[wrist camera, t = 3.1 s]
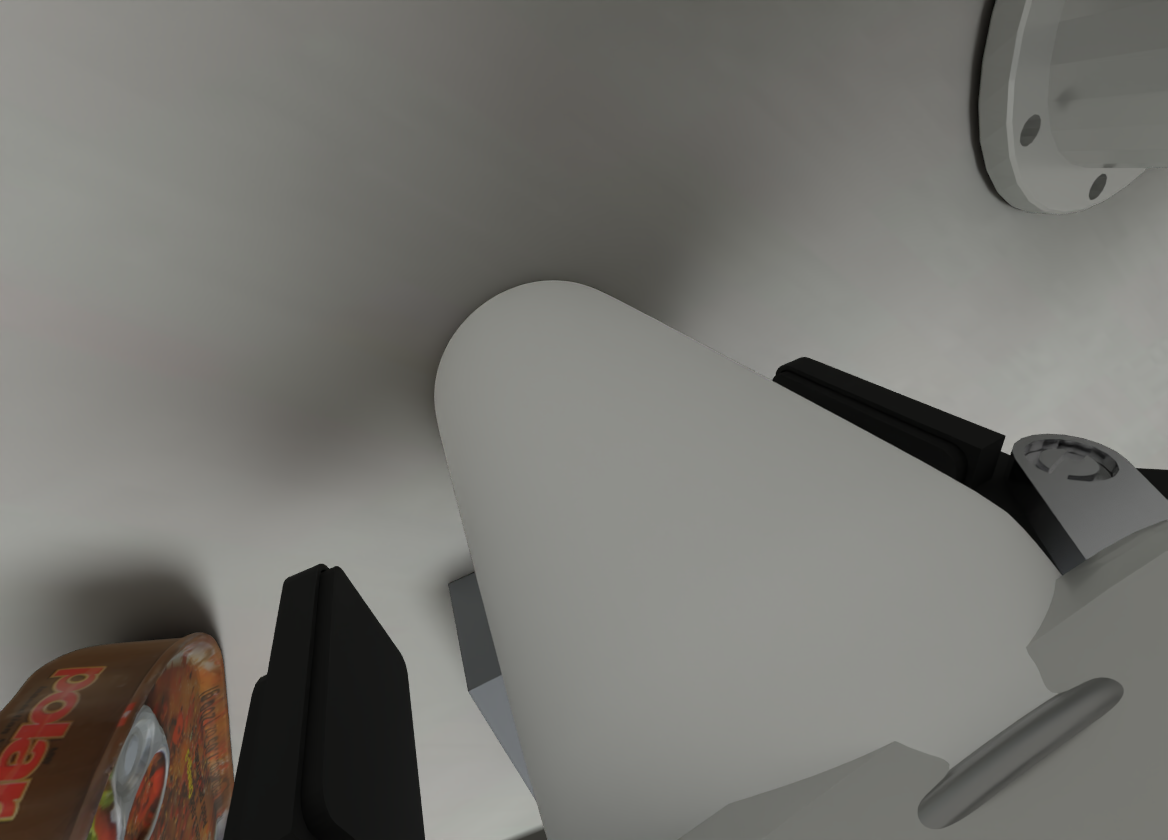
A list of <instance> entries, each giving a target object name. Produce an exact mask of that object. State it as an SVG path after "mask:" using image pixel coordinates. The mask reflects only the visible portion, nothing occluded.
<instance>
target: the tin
mask: <svg viewBox="0 0 1168 840" xmlns="http://www.w3.org/2000/svg"><path fill="white" fill-rule="evenodd" d="M233 787H234V777H233V764H232V754H231V744H230V732H229V717H228V706H227V696H226V683H225V672H224V664H223V658H222V654H221V650H220V648H219V646H218V644H217V642H216V641H215V639H214V638H213V637H212V636H211V635H209V634H205V633H202V632H200V633H193V634H189V635H187V636H185V637H183V638H173V639H161V640H149V641H136V642H124V643H114V644H105V645H97V646H92V647H87V648H83V649H79V650H76V651H73V652H70V653H68V654H65V655H62V656H60V657H58V658H57V659H55V660H53V661H51V662H49V663H47V664H45V665H44V666H42V667H41V668H40V669H38V670H37V671H36V672H34V673H33V674H32V675H31V676H30V677H29V678H28V679H27V681H26V682H25V683H24V684H23V686H22V687H21V688H20V690H19V691H18V692H17V694H16V695H15V696H14V697H13V698H12V700H11V701H10V702H9V703H8V704H7V705H6V706H5V708H4V709H3V710H2V711H1V712H0V840H223V837H224V832H225V827H226V822H227V817H228V812H229V807H230V802H231V797H232V792H233Z"/></svg>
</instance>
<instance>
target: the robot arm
mask: <svg viewBox="0 0 1168 840" xmlns="http://www.w3.org/2000/svg"><path fill="white" fill-rule="evenodd" d="M978 112H979V134H980V144H981V148H982V153H983V157H984V162H985V166H986V170H987V172H988V174H989V176H990V178H991V180H992V182H993V184H994V186H995V188H996V190H997V192H998V193H999V194H1000V195H1001V196H1002V197H1003V198H1004V199H1005V200H1006V201H1007V202H1008V203H1009V204H1010V205H1011V206H1013V207H1016V208H1018V209H1021V210H1023V211H1026V212H1030V213H1046V214H1058V215H1063V214H1069V213H1075V212H1081V211H1083V210H1086V209H1088V208H1090V207H1092V206H1095V205H1097V204H1099V203H1101V202H1103V201H1105V200H1107V199H1108V198H1110V197H1111V196H1113V195H1114V194H1116V193H1117V192H1119V191H1120V190H1121V189H1123V188H1124V187H1126V186H1127V185H1129V184H1130V183H1131V182H1132V181H1134V180H1135V179H1136V178H1137V177H1138V176H1139V175H1140V174H1141V173H1143V172H1144V171H1145V170H1146V169H1147V168H1168V0H996V1H995V4H994V8H993V11H992V15H991V20H990V25H989V30H988V35H987V40H986V45H985V50H984V55H983V60H982V68H981V79H980V90H979V102H978ZM773 382H775V383H777V384H779V385H781V386H783V387H785V388H787V389H788V390H790V391H792V392H794V393H796V394H798V395H800V396H802V397H803V398H805V399H807V400H809V401H811V402H813V403H815V404H817V405H818V406H820V407H822V408H824V409H826V410H828V411H830V412H832V413H833V414H835V415H837V416H839V417H841V418H843V419H845V420H847V421H848V422H850V423H852V424H854V425H856V426H858V427H860V428H861V429H863V430H865V431H867V432H869V433H871V434H873V435H874V436H876V437H878V438H880V439H882V440H884V441H885V442H887V443H889V444H891V445H893V446H895V447H897V448H898V449H900V450H902V451H904V452H906V453H908V454H909V455H911V456H913V457H915V458H917V459H919V460H921V461H922V462H924V463H926V464H928V465H930V466H931V467H933V468H935V469H937V470H938V471H940V472H942V473H944V474H946V475H947V476H949V477H951V478H953V479H954V480H956V481H958V482H960V483H961V484H963V485H965V486H967V487H968V488H970V489H972V490H974V491H975V492H977V493H979V494H980V495H982V496H983V497H985V498H986V499H988V500H989V501H991V502H992V503H994V504H995V505H997V506H998V507H1000V508H1001V509H1003V510H1004V511H1006V512H1007V513H1008V514H1009V515H1010V516H1011V517H1012V518H1013V519H1014V520H1015V521H1016V522H1017V523H1018V524H1019V525H1020V526H1021V527H1022V528H1023V529H1024V530H1025V531H1026V532H1027V533H1028V534H1029V536H1030V537H1031V538H1032V539H1033V540H1034V541H1035V542H1036V544H1037V545H1038V546H1039V547H1040V548H1041V550H1042V551H1043V552H1044V553H1045V555H1046V556H1047V557H1048V558H1049V560H1050V561H1051V562H1052V563H1053V564H1054V566H1055V567H1056V568H1057V570H1058V571H1059V572H1060V573H1061V575H1062V576H1061V577H1059V578H1058V579H1056V583H1055V590H1054V595H1053V598H1052V601H1051V604H1050V606H1049V609H1048V611H1047V614H1046V616H1045V618H1044V620H1043V622H1042V624H1041V626H1040V627H1039V629H1038V631H1037V632H1036V634H1035V636H1034V637H1033V638H1032V640H1031V641H1030V643H1029V644H1028V645H1027V647H1026V649H1027V652H1028V654H1029V656H1030V657H1031V658H1032V660H1033V661H1034V663H1035V664H1036V666H1037V668H1038V670H1039V672H1040V675H1041V678H1042V680H1043V683H1044V684H1045V686H1046V688H1047V689H1048V690H1050V691H1051V692H1052V693H1062V692H1065V691H1068V690H1070V689H1072V688H1074V687H1076V686H1078V685H1080V684H1082V683H1084V682H1086V681H1089V680H1091V679H1094V678H1100V677H1104V678H1110V679H1114V680H1115V681H1117V682H1119V683H1120V684H1121V685H1122V687H1123V688H1124V693H1123V696H1122V698H1121V699H1120V701H1119V702H1118V703H1117V704H1116V705H1115V706H1114V707H1113V708H1112V709H1111V710H1110V711H1109V712H1107V713H1106V714H1105V715H1103V716H1102V717H1101V718H1099V719H1098V720H1096V721H1095V722H1094V723H1092V724H1091V725H1089V726H1088V727H1086V728H1085V729H1083V730H1082V731H1080V732H1079V733H1078V734H1076V735H1075V736H1073V737H1072V738H1070V739H1069V740H1068V741H1066V742H1065V743H1063V744H1062V745H1061V746H1059V747H1058V748H1056V749H1055V750H1054V751H1052V752H1051V753H1050V754H1048V755H1047V756H1045V757H1044V758H1043V759H1041V760H1040V761H1039V762H1037V763H1036V764H1035V765H1033V766H1032V767H1031V768H1029V769H1028V770H1027V771H1025V772H1024V773H1023V774H1021V775H1020V776H1019V777H1017V778H1016V779H1015V780H1014V781H1012V782H1011V783H1010V784H1008V785H1007V786H1006V787H1004V788H1003V789H1002V790H1001V791H999V792H998V793H997V794H995V795H994V796H993V797H992V798H990V799H989V800H988V801H986V802H985V803H984V804H983V805H981V806H980V807H979V808H977V809H976V810H975V811H973V812H972V813H971V814H969V815H968V816H966V817H965V818H963V819H961V820H960V821H958V822H956V823H954V824H952V825H950V826H948V827H945V828H942V829H930V828H927V827H925V826H924V825H923V824H922V823H921V822H920V820H919V817H918V814H917V813H918V806H919V804H920V802H921V800H922V799H923V798H924V797H925V796H926V795H927V794H928V793H929V792H930V791H931V790H932V789H933V788H934V787H935V786H936V785H937V784H938V783H939V782H940V781H941V780H942V779H943V778H944V777H945V775H946V774H947V772H948V771H949V763H948V762H946V761H945V760H944V759H942V758H939V757H936V756H932V755H929V754H926V753H923V752H921V751H918V750H915V749H912V748H910V747H907V746H905V745H903V744H901V743H899V742H896V741H894V742H892V743H890V744H888V745H886V746H884V747H881V748H879V749H877V750H875V751H873V752H871V753H868V754H866V755H864V756H862V757H859V758H857V759H855V760H852V761H850V762H847V763H845V764H842V765H840V766H837V767H835V768H832V769H830V770H827V771H825V772H822V773H819V774H817V775H814V776H811V777H809V778H806V779H803V780H800V781H797V782H794V783H791V784H788V785H786V786H783V787H780V788H777V789H774V790H771V791H768V792H764V793H761V794H758V795H755V796H752V797H749V798H746V799H742V800H739V801H736V802H733V803H729V804H728V805H726V806H725V807H723V808H722V809H721V810H719V811H718V812H716V813H715V814H713V815H712V816H711V817H709V818H708V819H706V820H705V821H703V822H702V823H701V824H699V825H698V826H696V827H695V828H693V829H692V830H690V831H689V832H688V833H686V834H685V835H683V836H682V837H680V838H679V839H678V840H1168V470H1159V469H1141V468H1135V467H1134V466H1133V465H1132V464H1131V463H1130V462H1129V461H1128V460H1127V459H1126V458H1124V457H1123V456H1122V455H1120V454H1119V453H1118V452H1116V451H1114V450H1112V449H1110V448H1108V447H1106V446H1104V445H1102V444H1099V443H1096V442H1093V441H1090V440H1087V439H1084V438H1079V437H1073V436H1068V435H1059V434H1039V435H1031V436H1028V437H1024V438H1021V439H1020V440H1019V441H1017V442H1016V443H1014V446H1013V449H1012V452H1011V455H1008V454H1006V453H1003V452H1001V448H1002V445H1003V442H1004V439H1005V435H1002V434H1000V433H997V432H995V431H992V430H989V429H987V428H984V427H982V426H979V425H977V424H974V423H972V422H969V421H967V420H964V419H962V418H959V417H957V416H954V415H952V414H949V413H947V412H944V411H942V410H939V409H937V408H934V407H931V406H929V405H926V404H924V403H921V402H919V401H916V400H914V399H911V398H909V397H906V396H904V395H901V394H899V393H896V392H894V391H891V390H889V389H886V388H884V387H881V386H878V385H876V384H873V383H871V382H868V381H866V380H863V379H861V378H858V377H856V376H853V375H851V374H848V373H846V372H843V371H841V370H838V369H836V368H833V367H831V366H828V365H825V364H823V363H820V362H818V361H815V360H813V359H810V358H807V357H802V358H799V359H796V360H794V361H792V362H789V363H787V364H785V365H782V366H781V367H779V368H778V370H777V371H776V376H775V377H774V378H773ZM223 840H425V834H424V825H423V815H422V806H421V796H420V787H419V777H418V768H417V758H416V749H415V739H414V730H413V720H412V711H411V701H410V692H409V682H408V673H407V668H406V664H405V662H404V659H403V657H402V655H401V653H400V652H399V650H398V649H397V647H396V646H395V644H394V643H393V642H392V640H391V639H390V637H389V636H388V634H387V633H386V632H385V630H384V629H383V627H382V626H381V624H380V623H379V622H378V620H377V619H376V617H375V616H374V614H373V613H372V612H371V610H370V609H369V607H368V606H367V604H366V603H365V602H364V600H363V599H362V597H361V596H360V594H359V593H358V592H357V590H356V589H355V587H354V586H353V584H352V583H351V582H350V580H349V579H348V577H347V576H346V574H345V573H344V571H343V570H342V569H341V568H340V567H339V566H335V567H333V568H331V569H329V568H328V567H327V566H326V565H324V564H319V565H316V566H314V567H312V568H309V569H307V570H305V571H302V572H300V573H298V574H295V575H293V576H291V577H288V578H287V579H286V580H285V581H284V584H283V588H282V594H281V600H280V605H279V611H278V616H277V622H276V628H275V633H274V639H273V645H272V650H271V656H270V661H269V667H268V673H267V675H265V676H263V677H261V678H260V679H259V680H258V682H257V683H256V684H255V687H254V690H253V693H252V697H251V702H250V707H249V712H248V717H247V722H246V727H245V732H244V737H243V742H242V747H241V752H240V757H239V762H238V767H237V772H236V777H235V782H234V787H233V792H232V797H231V802H230V807H229V812H228V817H227V822H226V827H225V832H224V837H223Z"/></svg>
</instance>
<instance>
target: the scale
mask: <svg viewBox="0 0 1168 840" xmlns="http://www.w3.org/2000/svg"><path fill="white" fill-rule="evenodd" d="M448 586H449V591H450V596H451V602H452V607H453V612H454V618H455V623H456V629H457V634H458V639H459V645H460V650H461V655H462V661H463V666H464V671H465V677H466V682H467V687H468V692H469V694H470V695H471V697H472V698H473V700H474V702H475V703H476V705H477V706H478V708H479V710H480V711H481V713H482V715H483V716H484V718H485V719H486V721H487V723H488V724H489V726H490V727H491V729H492V731H493V732H494V734H495V735H496V737H497V739H498V740H499V742H500V744H501V745H502V747H503V748H504V750H505V752H506V753H507V755H508V756H509V758H510V760H511V761H512V763H513V764H514V766H515V768H516V769H517V771H518V773H519V774H520V776H521V777H522V779H523V781H524V782H525V784H526V785H527V787H528V789H529V790H530V792H531V794H532V795H533V797H534V798H535V795H534V792H533V788H532V785H531V781H530V777H529V774H528V770H527V766H526V762H525V759H524V755H523V751H522V748H521V744H520V740H519V737H518V733H517V729H516V725H515V722H514V718H513V714H512V711H511V707H510V703H509V699H508V696H507V692H506V688H505V684H504V680H503V677H502V673H501V669H500V665H499V661H498V658H497V654H496V650H495V646H494V642H493V639H492V635H491V631H490V627H489V623H488V620H487V616H486V612H485V608H484V604H483V601H482V597H481V593H480V589H479V585H478V581H477V578H476V574H475V573H472V574H470V575H468V576H466V577H463V578H461V579H459V580H457V581H454V582H452V583H450V584H448ZM535 800H536V798H535Z"/></svg>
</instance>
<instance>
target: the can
mask: <svg viewBox="0 0 1168 840" xmlns="http://www.w3.org/2000/svg"><path fill="white" fill-rule="evenodd" d="M434 403H435V413H436V418H437V423H438V428H439V433H440V437H441V441H442V445H443V449H444V453H445V457H446V461H447V465H448V469H449V473H450V477H451V481H452V485H453V489H454V492H455V496H456V500H457V504H458V508H459V512H460V516H461V520H462V524H463V528H464V531H465V535H466V539H467V543H468V547H469V551H470V554H471V558H472V562H473V566H474V570H475V574H476V578H477V581H478V585H479V589H480V593H481V597H482V601H483V604H484V608H485V612H486V616H487V620H488V623H489V627H490V631H491V635H492V639H493V642H494V646H495V650H496V654H497V658H498V661H499V665H500V669H501V673H502V677H503V680H504V684H505V688H506V692H507V696H508V699H509V703H510V707H511V711H512V714H513V718H514V722H515V725H516V729H517V733H518V737H519V740H520V744H521V748H522V751H523V755H524V759H525V762H526V766H527V770H528V774H529V777H530V781H531V785H532V788H533V792H534V795H535V798H536V802H537V805H538V809H539V812H540V816H541V819H542V822H543V826H544V829H545V833H546V836H547V839H548V840H678V839H679V838H680V837H682V836H683V835H685V834H686V833H688V832H689V831H690V830H692V829H693V828H695V827H696V826H698V825H699V824H701V823H702V822H703V821H705V820H706V819H708V818H709V817H711V816H712V815H713V814H715V813H716V812H718V811H719V810H721V809H722V808H723V807H725V806H726V805H728V804H729V803H733V802H736V801H739V800H742V799H746V798H749V797H752V796H755V795H758V794H761V793H764V792H768V791H771V790H774V789H777V788H780V787H783V786H786V785H788V784H791V783H794V782H797V781H800V780H803V779H806V778H809V777H811V776H814V775H817V774H819V773H822V772H825V771H827V770H830V769H832V768H835V767H837V766H840V765H842V764H845V763H847V762H850V761H852V760H855V759H857V758H859V757H862V756H864V755H866V754H868V753H871V752H873V751H875V750H877V749H879V748H881V747H884V746H886V745H888V744H890V743H892V742H894V741H896V742H899V743H901V744H903V745H905V746H907V747H910V748H912V749H915V750H918V751H921V752H923V753H926V754H929V755H932V756H936V757H939V758H942V759H944V760H945V761H946V762H948V763H949V771H948V772H947V774H946V775H945V777H944V778H943V779H942V780H941V781H940V782H939V783H938V784H937V785H936V786H935V787H934V788H933V789H932V790H931V791H930V792H929V793H928V794H927V795H926V796H925V797H924V798H923V799H922V800H921V802H920V804H919V806H918V813H917V814H918V817H919V820H920V822H921V823H922V824H923V825H924V826H925V827H927V828H930V829H942V828H945V827H948V826H950V825H952V824H954V823H956V822H958V821H960V820H961V819H963V818H965V817H966V816H968V815H969V814H971V813H972V812H973V811H975V810H976V809H977V808H979V807H980V806H981V805H983V804H984V803H985V802H986V801H988V800H989V799H990V798H992V797H993V796H994V795H995V794H997V793H998V792H999V791H1001V790H1002V789H1003V788H1004V787H1006V786H1007V785H1008V784H1010V783H1011V782H1012V781H1014V780H1015V779H1016V778H1017V777H1019V776H1020V775H1021V774H1023V773H1024V772H1025V771H1027V770H1028V769H1029V768H1031V767H1032V766H1033V765H1035V764H1036V763H1037V762H1039V761H1040V760H1041V759H1043V758H1044V757H1045V756H1047V755H1048V754H1050V753H1051V752H1052V751H1054V750H1055V749H1056V748H1058V747H1059V746H1061V745H1062V744H1063V743H1065V742H1066V741H1068V740H1069V739H1070V738H1072V737H1073V736H1075V735H1076V734H1078V733H1079V732H1080V731H1082V730H1083V729H1085V728H1086V727H1088V726H1089V725H1091V724H1092V723H1094V722H1095V721H1096V720H1098V719H1099V718H1101V717H1102V716H1103V715H1105V714H1106V713H1107V712H1109V711H1110V710H1111V709H1112V708H1113V707H1114V706H1115V705H1116V704H1117V703H1118V702H1119V701H1120V699H1121V698H1122V696H1123V693H1124V688H1123V687H1122V685H1121V684H1120V683H1119V682H1117V681H1115V680H1114V679H1110V678H1104V677H1100V678H1094V679H1091V680H1089V681H1086V682H1084V683H1082V684H1080V685H1078V686H1076V687H1074V688H1072V689H1070V690H1068V691H1065V692H1062V693H1052V692H1051V691H1050V690H1048V689H1047V688H1046V686H1045V684H1044V683H1043V680H1042V678H1041V675H1040V672H1039V670H1038V668H1037V666H1036V664H1035V663H1034V661H1033V660H1032V658H1031V657H1030V656H1029V654H1028V652H1027V649H1026V647H1027V645H1028V644H1029V643H1030V641H1031V640H1032V638H1033V637H1034V636H1035V634H1036V632H1037V631H1038V629H1039V627H1040V626H1041V624H1042V622H1043V620H1044V618H1045V616H1046V614H1047V611H1048V609H1049V606H1050V604H1051V601H1052V598H1053V595H1054V590H1055V583H1056V579H1058V578H1059V577H1061V576H1062V575H1061V573H1060V572H1059V571H1058V570H1057V568H1056V567H1055V566H1054V564H1053V563H1052V562H1051V561H1050V560H1049V558H1048V557H1047V556H1046V555H1045V553H1044V552H1043V551H1042V550H1041V548H1040V547H1039V546H1038V545H1037V544H1036V542H1035V541H1034V540H1033V539H1032V538H1031V537H1030V536H1029V534H1028V533H1027V532H1026V531H1025V530H1024V529H1023V528H1022V527H1021V526H1020V525H1019V524H1018V523H1017V522H1016V521H1015V520H1014V519H1013V518H1012V517H1011V516H1010V515H1009V514H1008V513H1007V512H1006V511H1004V510H1003V509H1001V508H1000V507H998V506H997V505H995V504H994V503H992V502H991V501H989V500H988V499H986V498H985V497H983V496H982V495H980V494H979V493H977V492H975V491H974V490H972V489H970V488H968V487H967V486H965V485H963V484H961V483H960V482H958V481H956V480H954V479H953V478H951V477H949V476H947V475H946V474H944V473H942V472H940V471H938V470H937V469H935V468H933V467H931V466H930V465H928V464H926V463H924V462H922V461H921V460H919V459H917V458H915V457H913V456H911V455H909V454H908V453H906V452H904V451H902V450H900V449H898V448H897V447H895V446H893V445H891V444H889V443H887V442H885V441H884V440H882V439H880V438H878V437H876V436H874V435H873V434H871V433H869V432H867V431H865V430H863V429H861V428H860V427H858V426H856V425H854V424H852V423H850V422H848V421H847V420H845V419H843V418H841V417H839V416H837V415H835V414H833V413H832V412H830V411H828V410H826V409H824V408H822V407H820V406H818V405H817V404H815V403H813V402H811V401H809V400H807V399H805V398H803V397H802V396H800V395H798V394H796V393H794V392H792V391H790V390H788V389H787V388H785V387H783V386H781V385H779V384H777V383H775V382H773V381H772V380H770V379H768V378H766V377H764V376H762V375H760V374H758V373H757V372H755V371H753V370H751V369H749V368H747V367H745V366H743V365H741V364H740V363H738V362H736V361H734V360H732V359H730V358H728V357H726V356H724V355H723V354H721V353H719V352H717V351H715V350H713V349H711V348H709V347H707V346H706V345H704V344H702V343H700V342H698V341H696V340H694V339H692V338H690V337H688V336H687V335H685V334H683V333H681V332H679V331H677V330H675V329H673V328H671V327H669V326H668V325H666V324H664V323H662V322H660V321H658V320H656V319H654V318H652V317H650V316H648V315H647V314H645V313H643V312H641V311H639V310H637V309H635V308H633V307H631V306H629V305H627V304H625V303H623V302H622V301H620V300H618V299H616V298H614V297H612V296H610V295H608V294H605V293H603V292H601V291H599V290H597V289H594V288H592V287H589V286H586V285H583V284H579V283H575V282H569V281H560V280H547V281H537V282H532V283H527V284H523V285H520V286H517V287H514V288H511V289H509V290H507V291H504V292H502V293H500V294H498V295H496V296H495V297H493V298H491V299H490V300H488V301H487V302H485V303H484V304H483V305H481V306H480V307H479V308H477V309H476V310H475V311H474V312H473V313H472V314H471V315H470V316H469V317H468V318H467V319H466V320H465V321H464V322H463V323H462V324H461V325H460V327H459V328H458V329H457V331H456V332H455V333H454V335H453V336H452V338H451V340H450V341H449V343H448V345H447V347H446V349H445V351H444V353H443V355H442V358H441V361H440V364H439V367H438V370H437V375H436V380H435V389H434Z"/></svg>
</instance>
